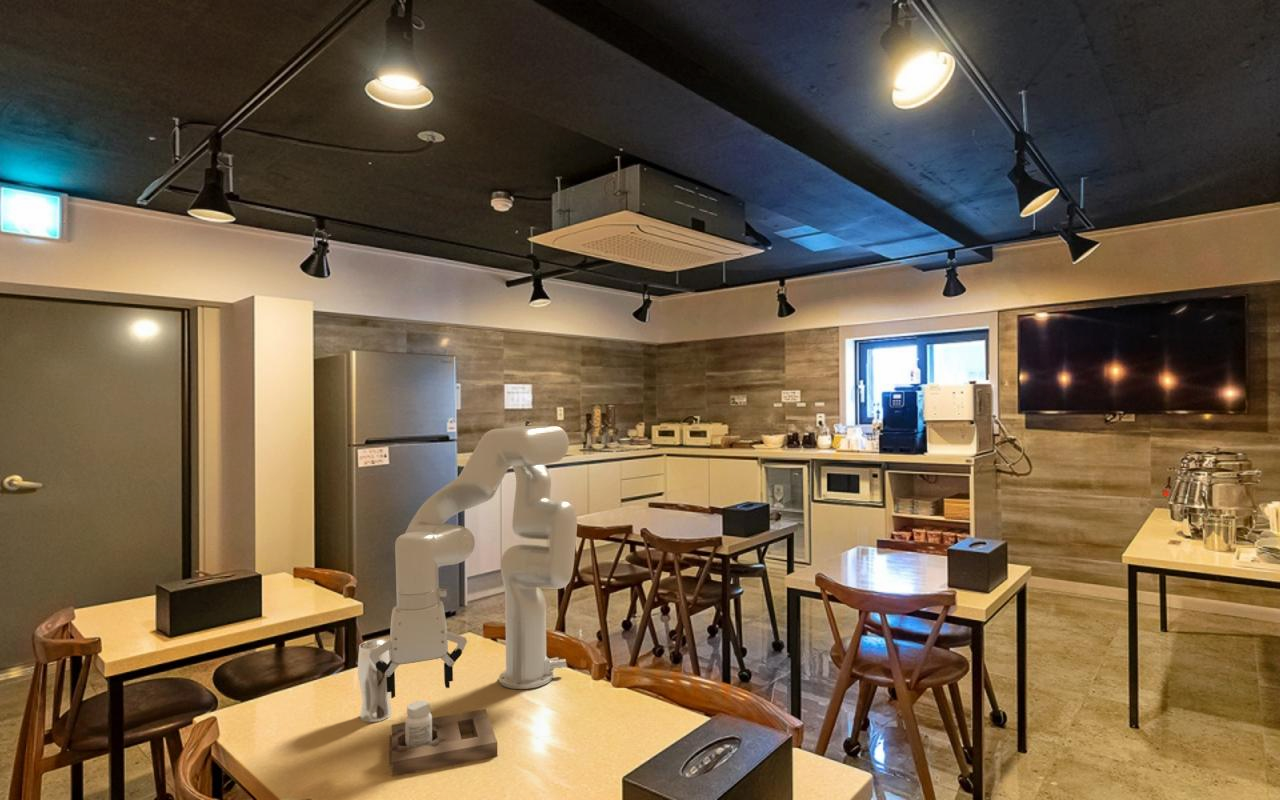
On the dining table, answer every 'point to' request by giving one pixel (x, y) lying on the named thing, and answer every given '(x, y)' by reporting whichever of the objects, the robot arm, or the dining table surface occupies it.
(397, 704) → the dining table surface
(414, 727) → the pill bottle
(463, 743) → the socket plate
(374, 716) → the beer glass
